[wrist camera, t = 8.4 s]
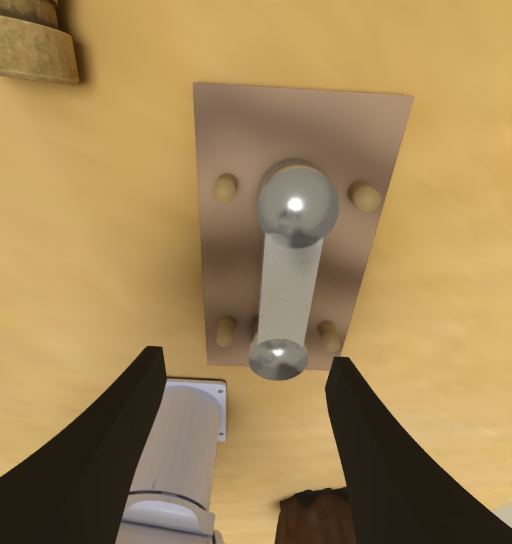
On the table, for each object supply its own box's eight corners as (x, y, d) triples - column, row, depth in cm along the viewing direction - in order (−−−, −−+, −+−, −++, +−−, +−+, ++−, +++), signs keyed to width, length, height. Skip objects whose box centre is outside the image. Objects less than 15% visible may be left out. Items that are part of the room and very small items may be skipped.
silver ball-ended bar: (298, 348, 23) (303, 381, 20) (249, 346, 23) (247, 379, 20) (331, 160, 15) (347, 171, 13) (259, 156, 15) (259, 166, 13)
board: (333, 361, 25) (341, 391, 22) (209, 355, 25) (203, 384, 22) (405, 96, 15) (436, 94, 12) (196, 84, 15) (182, 78, 12)
